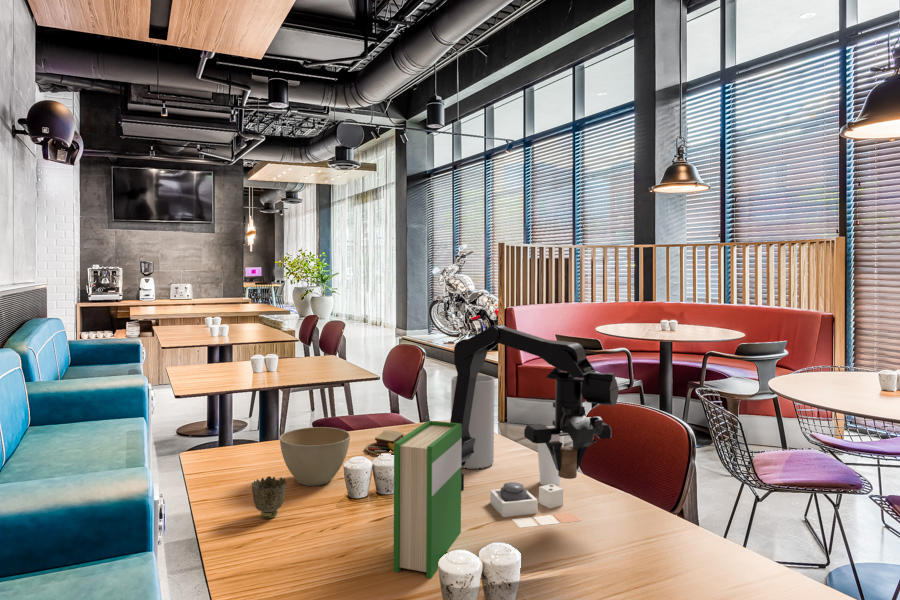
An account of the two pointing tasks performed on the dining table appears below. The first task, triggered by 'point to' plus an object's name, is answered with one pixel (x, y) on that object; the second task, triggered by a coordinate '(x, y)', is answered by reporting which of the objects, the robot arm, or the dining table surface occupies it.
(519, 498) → the popper button
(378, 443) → the toy sandwich meal
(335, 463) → the deep taupe bowl
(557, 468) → the robot arm
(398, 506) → the hardback book
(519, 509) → the board
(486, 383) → the cylinder vase
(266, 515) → the cup
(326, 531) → the dining table surface
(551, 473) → the white tapered vase
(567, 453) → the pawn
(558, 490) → the die
